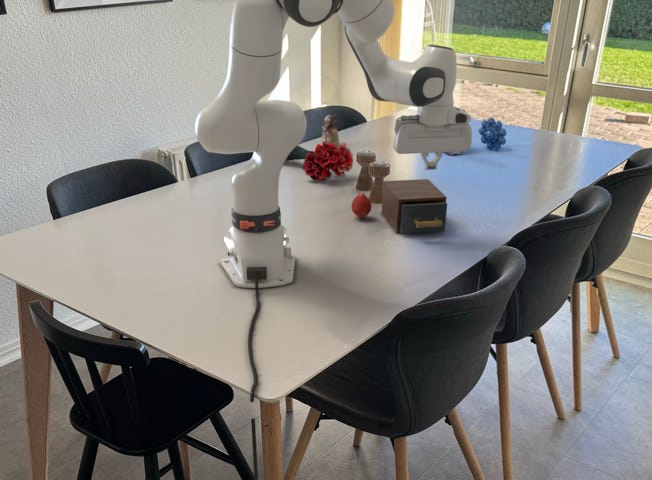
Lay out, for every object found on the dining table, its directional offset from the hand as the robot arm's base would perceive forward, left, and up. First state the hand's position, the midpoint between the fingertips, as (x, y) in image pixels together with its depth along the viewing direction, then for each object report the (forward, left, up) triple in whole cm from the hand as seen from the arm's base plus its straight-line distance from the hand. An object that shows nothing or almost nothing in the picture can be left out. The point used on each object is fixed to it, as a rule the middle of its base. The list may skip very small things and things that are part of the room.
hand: (430, 169), depth 184 cm
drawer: (+7, 0, -18) cm, 19 cm away
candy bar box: (+85, -36, -19) cm, 94 cm away
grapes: (+85, -53, -19) cm, 102 cm away
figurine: (+99, +8, -19) cm, 101 cm away
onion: (+18, +14, -19) cm, 30 cm away
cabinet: (+13, 0, -19) cm, 23 cm away
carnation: (+66, +22, -19) cm, 72 cm away
